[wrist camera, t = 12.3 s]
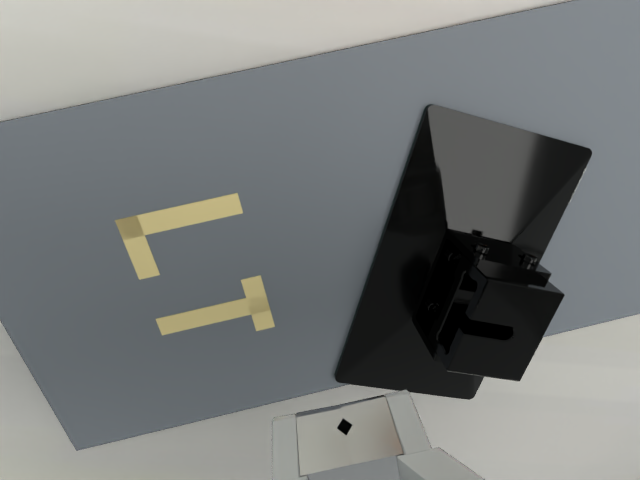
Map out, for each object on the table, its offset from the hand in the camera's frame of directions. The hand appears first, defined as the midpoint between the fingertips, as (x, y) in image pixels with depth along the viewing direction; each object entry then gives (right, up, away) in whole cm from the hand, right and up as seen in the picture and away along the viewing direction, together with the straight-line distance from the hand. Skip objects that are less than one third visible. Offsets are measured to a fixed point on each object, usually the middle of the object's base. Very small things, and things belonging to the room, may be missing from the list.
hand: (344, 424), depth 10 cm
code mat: (+1, +4, +8) cm, 9 cm away
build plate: (+5, +3, +9) cm, 11 cm away
